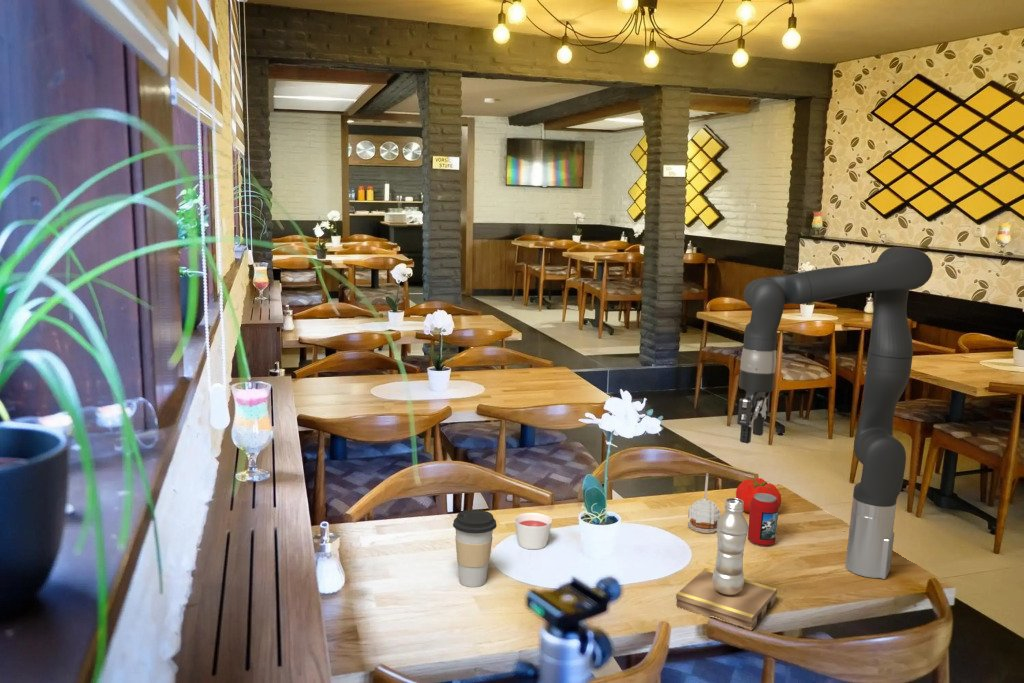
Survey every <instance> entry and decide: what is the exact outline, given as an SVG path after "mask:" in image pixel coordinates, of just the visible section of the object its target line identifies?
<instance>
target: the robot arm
mask: <svg viewBox="0 0 1024 683" xmlns="http://www.w3.org/2000/svg"><path fill="white" fill-rule="evenodd" d="M933 270H934V266H933V262H932V260H931V258H930V256H928V254H926V253H925V252H924V251H922V250H920V249H917V248H912V247H911V248H910V247H904V246H892V247H888V248H887V249H885V250H884V251H882V252H881V253H880V255H879V256H878V258H877V260H876V261H873V262H868V263H863V264H862V263H861V264H856V265H846V266H844V265H842V266H834V267H833V266H832V267H823V268H817V269H811V270H807V271H800V272H797V273H794V274H788V275H786V274H785V275H776V276H768V277H767V276H765V277H760V278H755V279H754V280H752V281H751V282H749V283H748V284H747V285H746V286H745V288H744V291H743V298H744V302H745V303H746V305H747V306H748V307H750V308H751V315H750V321H749V322H747V324H746V325H745V327H744V334H743V345H742V346H743V347H742V352H741V356H740V357H741V358H740V365H739V378H738V386H739V389H741V390H744V391H745V392H746V393H745V397H744V398H743V397H740V398H739V400H738V401H739V403H738V413H737V420H736V421H737V422H736V423H737V425H739V426H740V434H739V435H740V436H739V442H740V443H741V444H742V443H743V444H751V440H752V434H753V435H754V436H759V437H760V436H761V437H762V436H763V434H764V427H765V426H764V425H765V420H766V418H767V416H769V414H770V400H771V398H770V397H771V392H772V391H773V390H774V386H775V374H776V367H777V366H776V365H777V364H776V363H777V362H776V361H777V355H776V354H777V353H776V352H777V350H776V349H777V340H778V329H779V326H780V324H781V320H782V317H783V312H784V309H785V305H791V304H792V305H805V304H813V303H816V302H823V301H826V300H832V299H838V298H841V297H847V296H852V295H857V294H863V293H870V292H874V299H873V302H874V303H873V304H874V306H873V315H872V321H871V330H870V338H869V345H868V349H867V350H868V351H867V359H866V366H865V378H864V387H863V398H862V407H861V412H860V416H859V422H858V426H857V430H856V433H855V436H854V437H855V438H854V441H853V452H854V455H855V458H856V459H857V460H858V462H860V463H861V465H862V471H861V477H860V482H857V483H856V484H855V485H854V487H853V493H852V494H853V495H852V503H851V513H850V522H849V529H848V530H849V531H848V540H847V547H846V557H845V568H846V569H847V570H848V571H849V572H851V573H853V574H856V575H858V576H862V577H866V578H873V579H883V580H886V578H887V577H888V575H889V573H890V572H891V565H892V557H893V549H894V541H895V540H894V538H895V532H894V527H895V526H894V525H895V517H896V510H897V509H896V508H897V499H898V496H899V495H900V494H901V491H902V488H903V482H904V478H905V471H906V464H907V453H906V449H905V446H904V445H903V443H901V441H900V440H898V439H897V438H896V437H895V436H893V435H894V433H893V431H894V429H893V427H894V417H895V411H896V407H897V405H898V402H899V400H900V398H901V396H902V395H903V393H904V392H905V389H906V388H907V385H908V383H909V380H910V378H911V374H912V373H911V370H912V364H913V357H914V344H913V339H912V338H913V336H912V332H911V329H910V324H909V320H908V315H907V314H908V312H907V310H908V308H907V306H908V297H909V293H910V292H909V291H912V290H916V289H919V288H921V287H923V286H924V285H925V284H926V283H928V282H929V280H930V278H931V277H932V275H933Z"/></svg>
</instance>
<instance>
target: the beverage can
mask: <svg viewBox="0 0 1024 683" xmlns="http://www.w3.org/2000/svg"><path fill="white" fill-rule="evenodd" d="M779 508H780V507H779V504H778V502H777V500H776V497H775V496H773V495H770V494H765V493H758V494H755V495H754V497H753V499H752V500H751V504H750V513H749V514H748V515H749V517H748V532H747V540H749V541H750V542H751V543H752V544H754V545H756V546H758V545H759V546H760V547H770V546H771V545H773V544H775V542H776V539H777V538H776V537H777V528H778V518H779Z"/></svg>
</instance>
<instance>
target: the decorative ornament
mask: <svg viewBox="0 0 1024 683" xmlns="http://www.w3.org/2000/svg"><path fill="white" fill-rule="evenodd" d="M708 485H709V473H705V484H704V494H703V498H700V499H699V500H697V499H696V500H695V501H693V503H691V504H690V507H688V515H687V516H688V520H689V521H687V528H690V530H693V531H695V532H699V533H704V534H710V533H715V532H717V522H718V519H719V518H720V516H721V510H719V507H718V506H717V505H716V503H715V502H714V501H710V499H709V498H707V497H708V487H709V486H708Z"/></svg>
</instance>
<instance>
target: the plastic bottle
mask: <svg viewBox="0 0 1024 683" xmlns="http://www.w3.org/2000/svg"><path fill="white" fill-rule="evenodd" d="M724 503H725V505H724V510H725V511H724V512H723V513H722V514H720V518H719V519H718V522H717V531H716V535H717V549H716V550H717V555H716V560H715V566H714V569H713V570H714V572H713V576H712V581H713V586H714V588H715V590H716V591H717V592H719V593H722V594H725V595H736V594H738V593H740V591H741V590H742V588H743V585H744V579H745V578H744V576H745V575H744V551H745V545H746V540H747V538H748V526H749V522H748V521H747V519H746V517H745V515H744V514H743V512H744V511H743V510H744V508H743V504H744V503H743V501H742V500H740V499H737V498H736V497H728V498H726V499H725V502H724Z"/></svg>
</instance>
